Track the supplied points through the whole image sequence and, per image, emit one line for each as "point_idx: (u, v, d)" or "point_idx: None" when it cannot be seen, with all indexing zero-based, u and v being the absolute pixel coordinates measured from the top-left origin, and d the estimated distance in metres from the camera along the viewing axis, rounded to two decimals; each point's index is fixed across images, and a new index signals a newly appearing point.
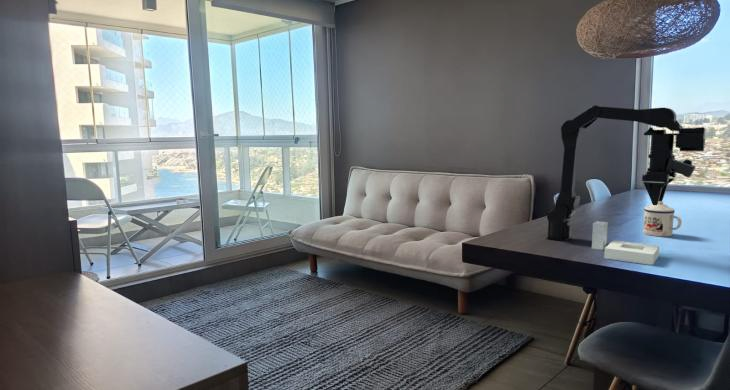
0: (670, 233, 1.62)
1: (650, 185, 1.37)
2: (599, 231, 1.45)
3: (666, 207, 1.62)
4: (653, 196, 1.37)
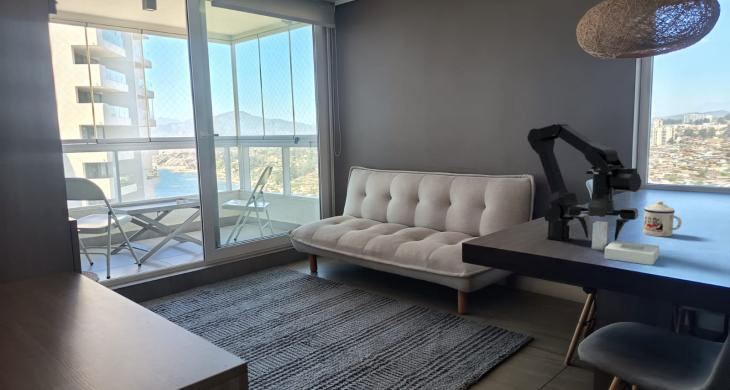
0: (670, 233, 1.62)
1: None
2: (599, 231, 1.45)
3: (666, 207, 1.62)
4: None
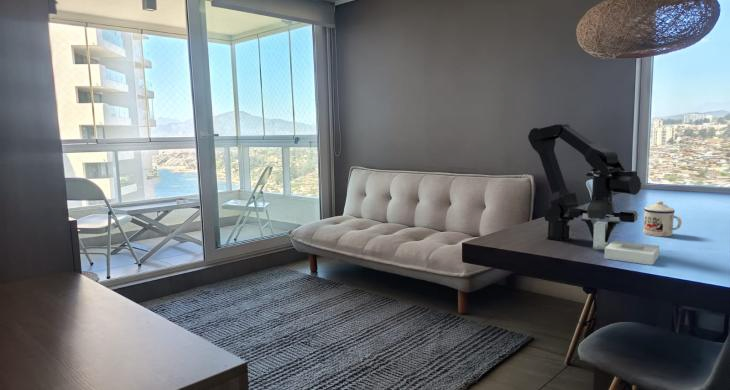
0: (670, 233, 1.62)
1: None
2: (600, 231, 1.45)
3: (666, 207, 1.62)
4: None
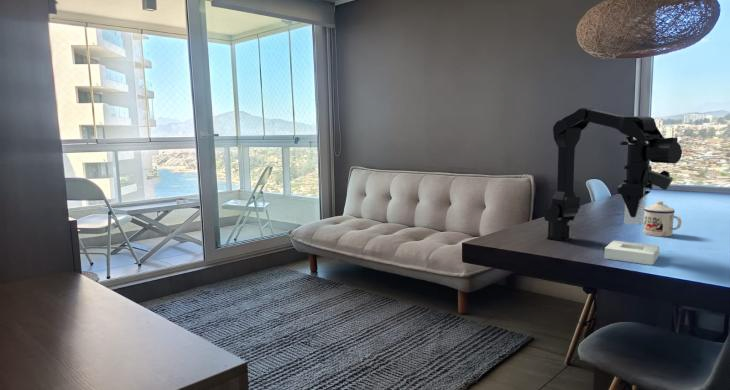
0: (670, 233, 1.62)
1: (628, 197, 1.32)
2: (643, 203, 1.34)
3: (666, 207, 1.62)
4: (631, 208, 1.33)
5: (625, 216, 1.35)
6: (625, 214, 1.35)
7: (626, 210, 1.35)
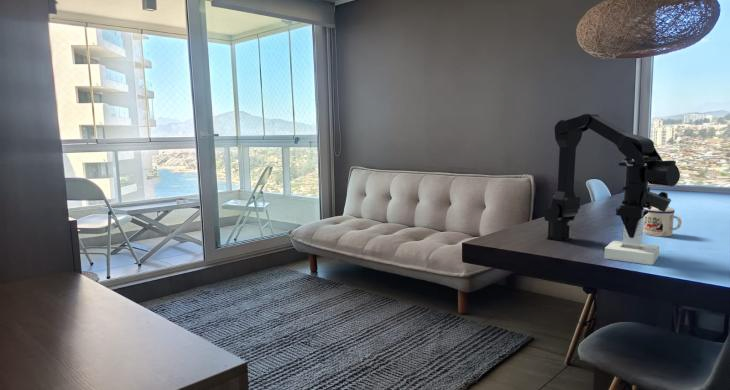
0: (670, 233, 1.62)
1: (626, 217, 1.33)
2: (642, 224, 1.34)
3: None
4: (629, 229, 1.34)
5: (624, 236, 1.36)
6: (624, 234, 1.36)
7: (625, 230, 1.36)
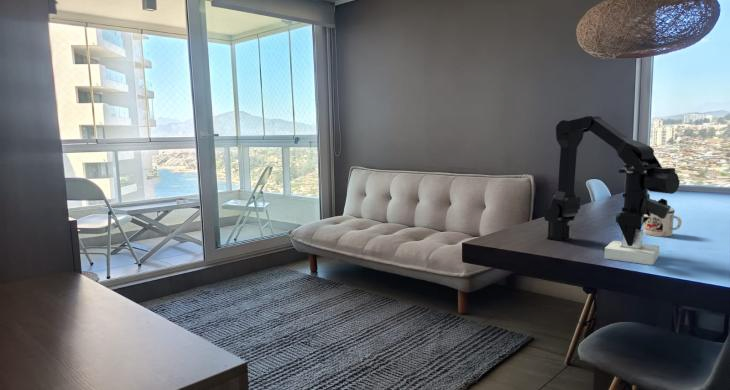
0: (670, 233, 1.62)
1: (625, 225, 1.32)
2: (641, 238, 1.35)
3: None
4: (628, 237, 1.33)
5: None
6: None
7: (624, 244, 1.36)
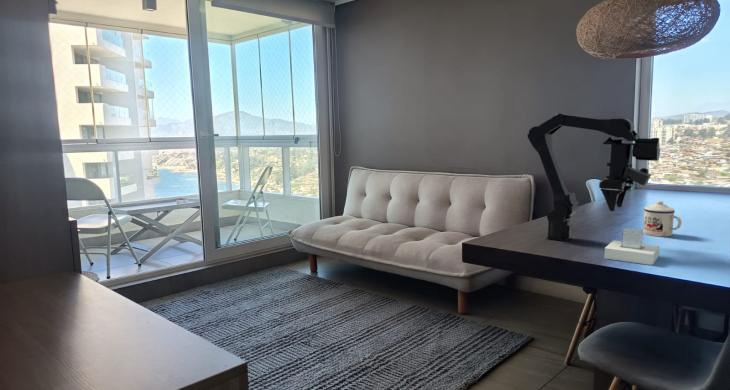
0: (670, 233, 1.62)
1: (607, 192, 1.44)
2: (641, 238, 1.35)
3: (666, 207, 1.62)
4: (610, 202, 1.44)
5: None
6: None
7: (624, 244, 1.36)
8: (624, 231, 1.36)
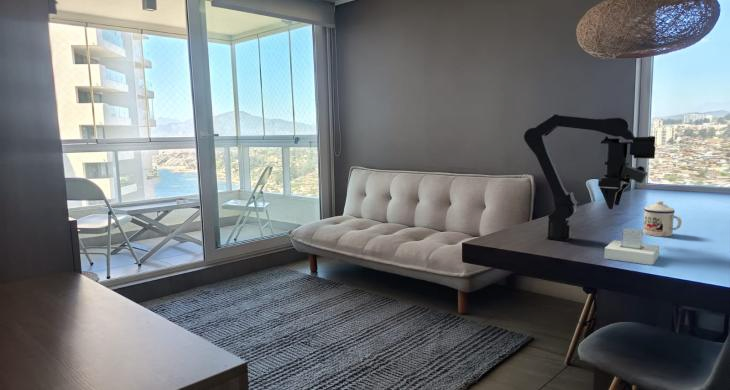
0: (670, 233, 1.62)
1: (606, 190, 1.46)
2: (641, 238, 1.35)
3: (666, 207, 1.62)
4: (609, 200, 1.46)
5: None
6: None
7: (624, 244, 1.36)
8: (624, 231, 1.36)
